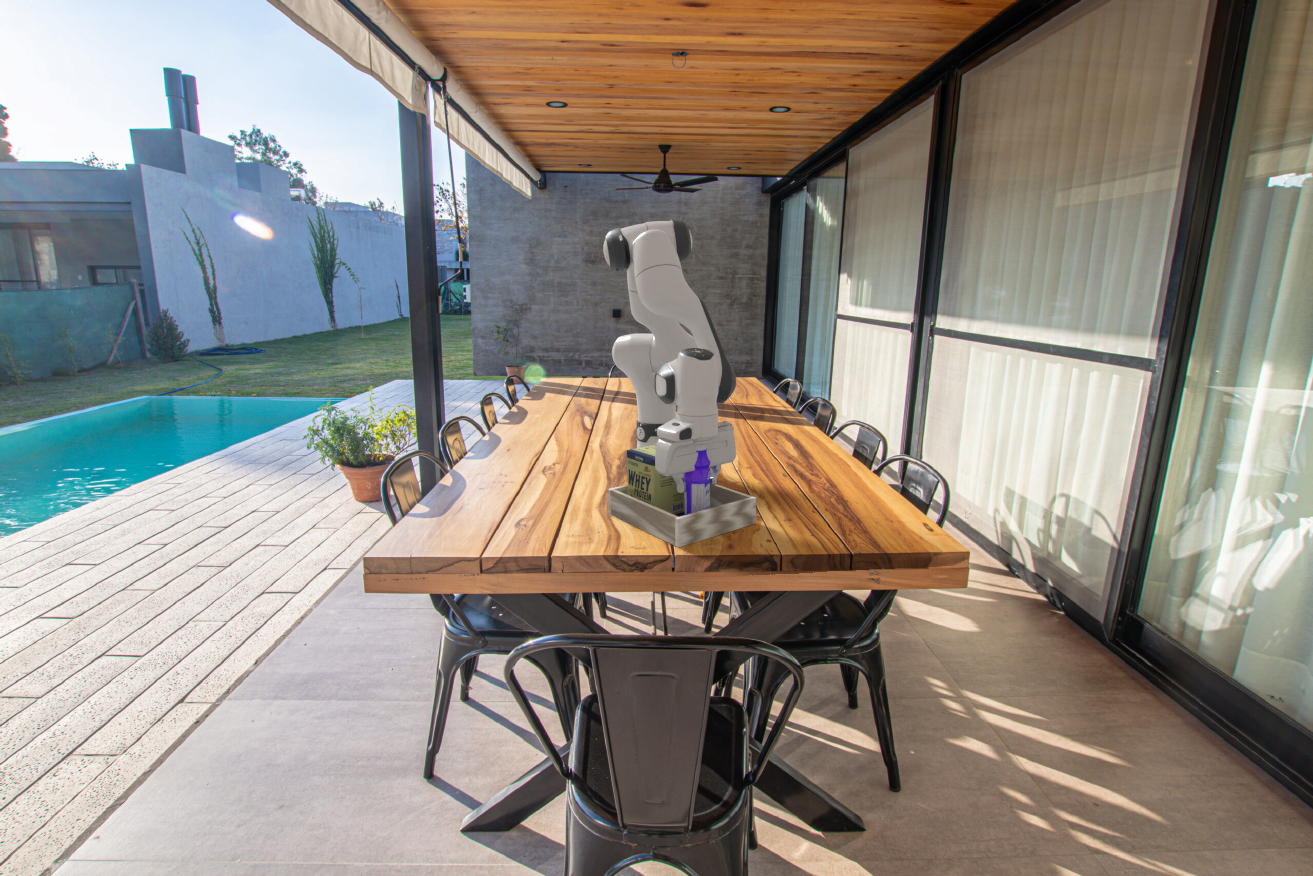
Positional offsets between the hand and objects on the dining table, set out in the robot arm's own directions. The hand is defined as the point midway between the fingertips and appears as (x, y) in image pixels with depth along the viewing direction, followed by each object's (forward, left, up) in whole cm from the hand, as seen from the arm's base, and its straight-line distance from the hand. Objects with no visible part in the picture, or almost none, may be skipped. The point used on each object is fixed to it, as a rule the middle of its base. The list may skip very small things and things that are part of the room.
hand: (697, 488), depth 139 cm
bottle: (0, 0, -7) cm, 7 cm away
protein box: (0, -11, -9) cm, 14 cm away
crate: (0, -6, -9) cm, 10 cm away
